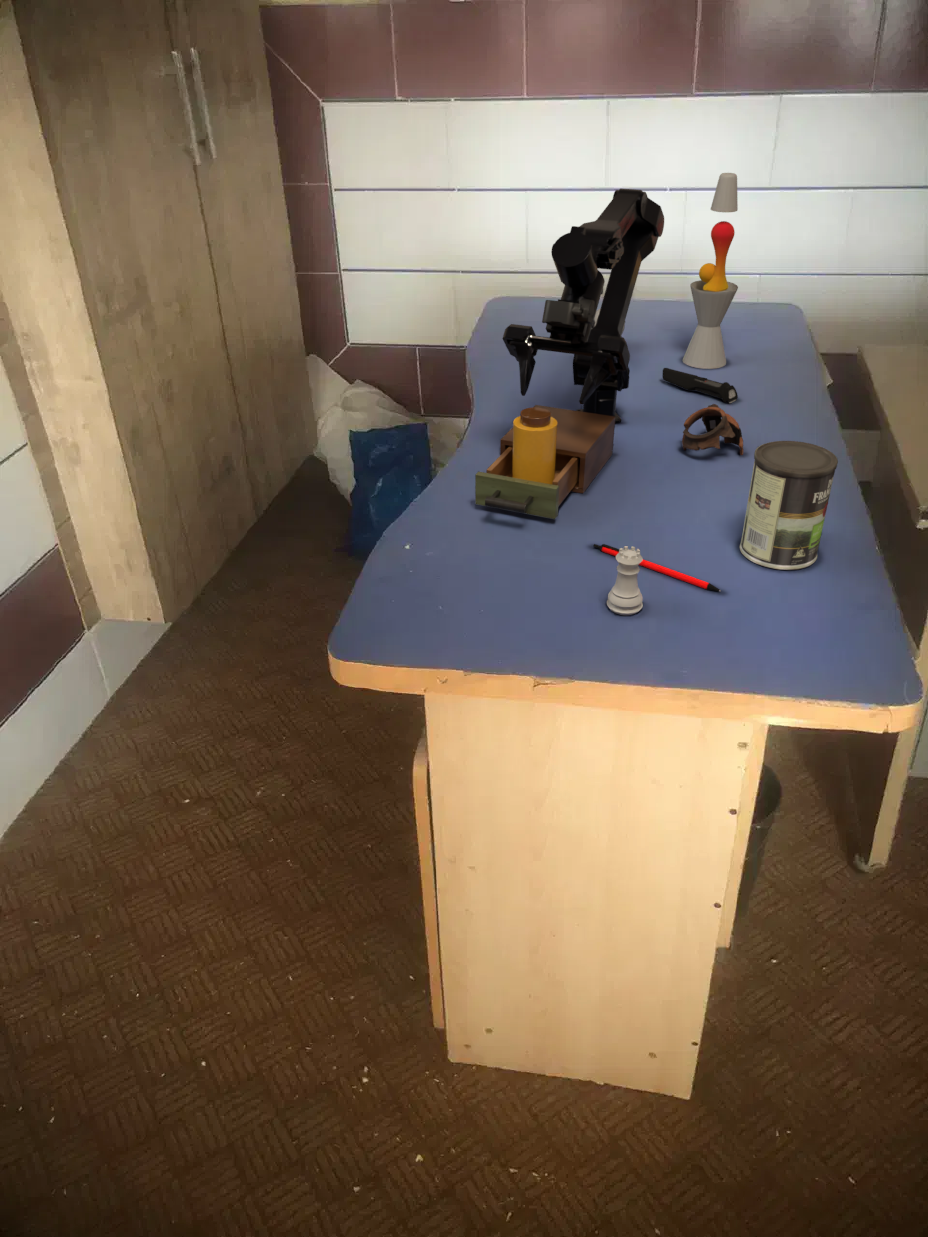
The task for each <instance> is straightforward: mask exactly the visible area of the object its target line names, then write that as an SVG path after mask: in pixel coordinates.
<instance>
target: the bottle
mask: <svg viewBox="0 0 928 1237" xmlns="http://www.w3.org/2000/svg"><path fill="white" fill-rule="evenodd" d="M512 428H513V455H512V478H518V479H524V480H529V481H535V482H541V483H546V484H552V482H553V480H554V479H555V466H556V445H557V420H556V419H555V418H553V417H551V412H550V411H549V410H547V409H544V408H538V407H534V406H533V407H527V408H524V409H522V410H521V411H520V413H519V416H517V417H515V418H514V419H513V420H512Z"/></svg>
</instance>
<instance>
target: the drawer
mask: <svg viewBox="0 0 928 1237" xmlns="http://www.w3.org/2000/svg"><path fill="white" fill-rule="evenodd" d="M512 455H513V446H509V447H508V448H507V449H506V450H505V451H504V452H503V453H502V454H501V455H500V454H499V456H498V457H497V458H496V459H495V460H494V461H493V463H492V464H490V466H488V467H487V469H486V472H485V471H484V472H483V471H477V472H476V474H475V476H474V477H475V482H474V483H475V485H474V486H475V487H474V488H475V490H474V494H475V495H474V496H475V501H474V504H475V505H478V506H482V507H487V508H492V509H493V508H494V509H498V510H504V511H510V512H515V513H520V514H523V515H524V514H525V515H531V516H535V517H540V518H545V519H552V520H556V519H557V518H558V516H559V507H560V506H561V504H562V503H563V502H564V500H565V499H566V498H567V497H568V495H569V493H571V490H572V489H573V487H574V486H575V485H576V483H577V482H578V481H579V471H580V458H581V457H575V456H569V455H563V454H557V453H556V466H555V479H554V480H553V482H552V484H546V483H541V482H535V481H529V480H524V479H518V478H512Z"/></svg>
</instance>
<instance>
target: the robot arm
mask: <svg viewBox="0 0 928 1237" xmlns="http://www.w3.org/2000/svg"><path fill="white" fill-rule="evenodd" d="M664 227H665V216H664V212H663V210H662V206H661V205H660V204H658V203H656V202H655V201H654V200H652V199H651V198H649V196H648V194H647V192H646V191H643V190H642V189H635V188H633V189H632V188H619V189H615V191H614V192H613V195H612V199H611V200H610V202H609V203H608V204H607V205H606V207H605V208H604V209H603V211H602V212H601V213H600V215H599V216H598V217H597V218H596V219H595V220H594V221H589V222H584V223H582V224H581V225H579V226H574V225H572V226H571V228H570V231H569V232H567V233H565V234H563V235H561V236H560V237H558V239H557V240H555V242H554V243H553V244H552V247H551V258H552V261H553V264H554V266H555V269H556V272H557V274H558V275H557V276H558V277H559V280H560V282H561V283H562V284H563V285H564V287H563V290H562V294H561V297H560V299H559V298H557V300H552V299H546V300H545V302H544V308H543V314H542V319H541V323H542V324H546V325H545V331H546V333H548V334H549V336H540V335H537V334H536V332H535V330H534V328H533V326H532V325H523V324H515V323H510V324H509V325H507V327H506V328H505V329H504V332H503V335H502V338H501V339H502V341H503V343H504V345H505V347H506V349H507V351H508V353H509V355H510V356H511V357H514V358H515V360H516V362H518V368H519V370H518V371H519V388H520V394H521V396H522V397H525V396H526V394H527V392H528V390H529V387H530V383H531V380H532V376H533V373H534V370H535V367H536V360H535V356H537V355H538V354H537V353H538V351H547V352H554V353H563V354H570V355H573V358H572V374H573V376H572V377H573V385H574V386H582V387H581V388H582V389H581V392H580V395H579V400H578V402H579V405H581V406H582V408H578V409H576V410H575V411H581V412H587V413H594V414H601V415H608V416H614V417H615V424H619V423H622V418H621V416H620V415H618V413H617V412H616V409H617V397H618V392H622V391H623V390H627V389H629V387H630V366H629V364H630V360H631V354H630V350H629V346H628V342H627V340H626V339H625V338H624V337H623V336H622V335H621V333H622V330H623V326H624V323H625V324H626V318H627V316H628V313H629V312H628V311H629V308H630V304H631V302H632V301H631V300H632V298H633V293H634V290H635V286H636V283H637V279H638V277H639V276H638V275H639V272H640V269H641V265H642V262H643V261H644V260H645V259H646V258H647V257H648V256H650V254H651V253H653V252H654V251H655V249H656V246H657V243H658V240H659V238H661V237H662V235H663V233H664ZM599 269H600V270H610V273H609V277H608V281H607V285H606V288H605V291H604V285H605V282H606V281H605V278H604V274H602V272H601V271H600V270H599ZM603 293H604V294H603ZM602 295H603V297H602ZM601 297H602V302H601V304H600V308H599V309H600V312H599V316H598V319H597V323H596V325H595V320H594V318H595V314H596V311H597V310H598V307H599V303H600V300H601ZM594 325H595V326H594ZM591 328H592V329H591ZM622 334H623V333H622ZM621 336H622V337H621Z"/></svg>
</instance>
